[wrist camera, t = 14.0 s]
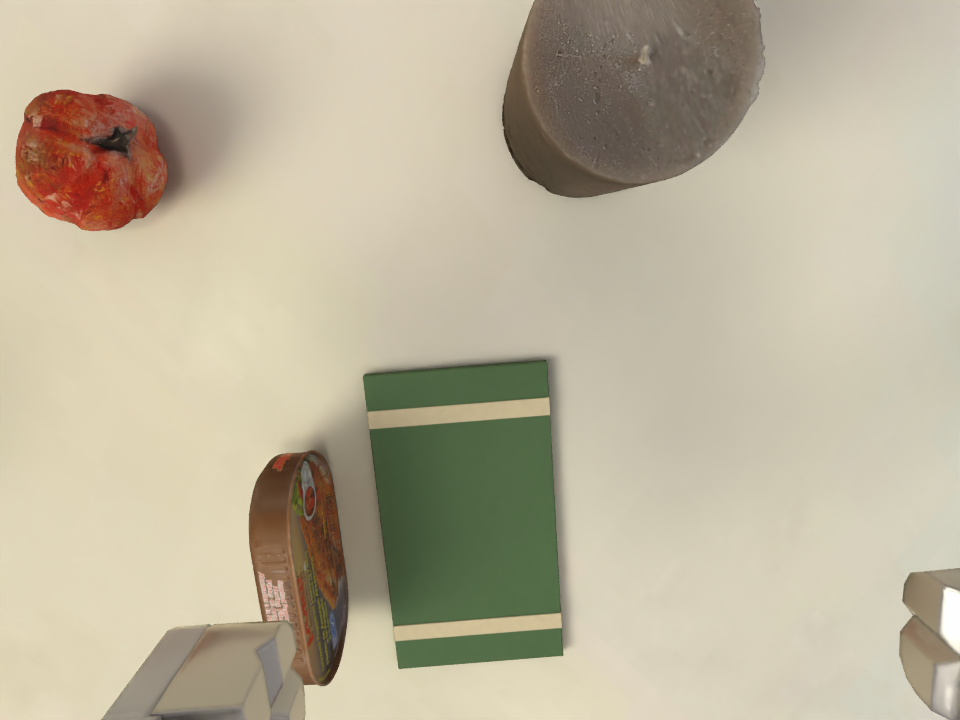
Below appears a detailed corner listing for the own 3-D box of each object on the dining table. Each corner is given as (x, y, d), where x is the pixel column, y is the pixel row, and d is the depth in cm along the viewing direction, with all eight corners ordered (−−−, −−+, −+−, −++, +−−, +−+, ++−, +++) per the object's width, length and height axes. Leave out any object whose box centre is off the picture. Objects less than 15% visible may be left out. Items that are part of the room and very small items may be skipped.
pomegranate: (125, 240, 41) (207, 227, 35) (-11, 235, 35) (60, 218, 29) (114, 123, 40) (196, 90, 34) (-27, 98, 34) (43, 52, 29)
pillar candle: (500, 197, 39) (520, 184, 24) (503, 25, 37) (526, -103, 22) (656, 198, 39) (769, 186, 24) (668, 27, 37) (799, -99, 22)
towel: (546, 359, 41) (547, 362, 40) (562, 650, 46) (563, 657, 45) (364, 374, 41) (362, 376, 40) (399, 663, 46) (398, 670, 45)
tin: (353, 628, 45) (328, 718, 37) (310, 631, 45) (275, 723, 37) (326, 431, 42) (292, 482, 34) (280, 434, 42) (234, 487, 34)
